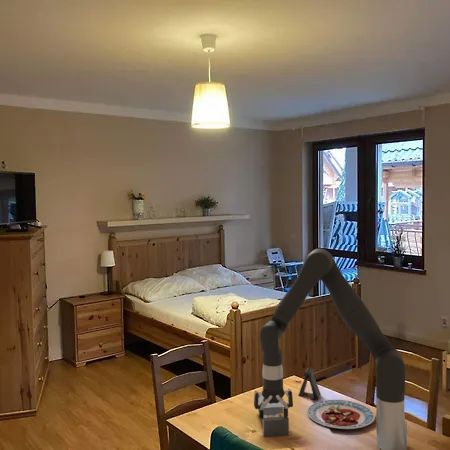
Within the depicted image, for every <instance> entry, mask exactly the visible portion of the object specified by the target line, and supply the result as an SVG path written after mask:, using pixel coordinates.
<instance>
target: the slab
mask: <svg viewBox="0 0 450 450" xmlns="http://www.w3.org/2000/svg"><path fill="white" fill-rule="evenodd" d="M263 398H264V397H263V396H262V395H261V396H260V398H258V404H259V405H260V403H261V402H262V400H263ZM283 407H284V406H283V405H282V404H281V403H280V402H278V403H272V404H270V403H268V404H267V405H266V406H265V407H264V409H263V413H264V414H279V413H280V414H283ZM257 411H258V412H259V409H257Z"/></svg>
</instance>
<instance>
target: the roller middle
mask: <svg viewBox="0 0 450 450" xmlns="http://www.w3.org/2000/svg"><path fill="white" fill-rule="evenodd" d="M270 417H281V413H279V414H264V418H270ZM261 422H262V423H263V420H262V419H261Z"/></svg>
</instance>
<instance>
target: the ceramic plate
mask: <svg viewBox="0 0 450 450" xmlns="http://www.w3.org/2000/svg"><path fill="white" fill-rule="evenodd" d="M306 412H307V415H308V416H307V417H309V418H310V419H311V420H312V421H313V422H315V423H317V424H319V425H321V426H324V427H328V428H333V429H339V430H354V429H360V428H365V427H367V426H369V425H371V424H372V423H373V422H374V421H375V418H376V414H375V413H374V411H373V410H372V409H371V408H370V407H368V406H366V405H364V404H362V403H358V402H357V401H356V402H355V401H351V400H345V399H325V400H321V401H317V402H314V403H313V404H311V405H310V406H309V407H308V408H307V411H306ZM317 413H319V415H320V418H321V419H322V420H321V419H320V418H319V417H318V416H317Z"/></svg>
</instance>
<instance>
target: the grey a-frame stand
mask: <svg viewBox="0 0 450 450" xmlns="http://www.w3.org/2000/svg"><path fill="white" fill-rule="evenodd" d="M314 371H315V370H314V368H313V367H307V368H306V370H305V372H304V375H303V376H304V379H303V382H302V385H301V387H300V390H299V392H298V397H303V396H304V393H305V391H306V388H307V383H308V381H309V384H310V388H311V391H312V392H307V393H306V394H307V396H308V398H309V399H310V400H311V401H319V400H320V398H321V395H322V394H321V391H320V389H319V386H318V383H317V381H316V377H315V375H314Z"/></svg>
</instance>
